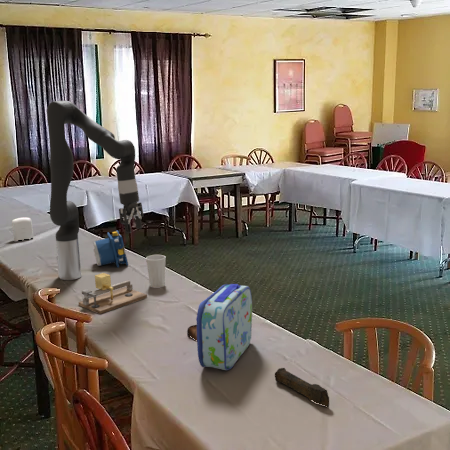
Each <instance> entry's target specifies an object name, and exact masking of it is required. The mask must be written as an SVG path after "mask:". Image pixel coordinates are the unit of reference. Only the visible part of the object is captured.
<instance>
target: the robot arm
mask: <svg viewBox="0 0 450 450" xmlns="http://www.w3.org/2000/svg"><path fill="white" fill-rule="evenodd" d="M46 115H47V116H46V117H47V127H48V134H49V151H50V154H49V155H50V156H49V157H50V158H49V159H50V163H49V164H50V202H49V217H50V218H49V219H50V220H51V222H52V223H53V224H54V225H56V226H58V227H59V228H58V230H57V232H55V242H56V243H55V245H56V253H57V255H56V261H57V272H58V277H59V279H60V280H63V281H72V280H73V281H74V280H77V279H79V278H81V277H82V269H81V267H82V266H81V257H80V255H81V254H80V244H79V232H80V216H79V209H78V206H77V204H75V202H74V201H72V200H71V201H70V200H67V198H68V189H69V187H70V184H71V183H72V182H71V181H72V179H73V175H74V166H75V165H74V153H73V152H72V150H71V148H70V145H69V144H68V141H67V140H66V139H67V138H66V135H65V133H66V132H65V124H71V125H74V126H75V127H78V128H79V129H81V130H82V132H83V133H84V134H85V136H86V137H87V138H88V139H89V140H90V141H91V142H93V143H94V144H96V145H98V146H99V147H100V148H102V149H103V150H104V151H105V152H106V154H107V155H109V156H110V157H111V158H113V159H115V160H120V164H119V165H117V167H116V177H117V179H116V180H117V190H118V196H119V202H120V204H121V205H122V206H123V207H121V208H118V213H119V221H120V222H119V223H120V225H121V224H122V225H124V230H125V234H132V226H131V224H130V223H131V220H132V219H133V218H134V219H135V227H136V229H137V230H141V229H142V228H143V225H142V217H144V211H143V205H142V202H140V197H139V189H138V183H137V180H136V172H135V163H136V148H135V145H134V143H133V142H132V141H131V140H129V139H123V140H117V139H116V137H115V134H114V133H113V132H112V131H111V130H108V129H107V128H105V127H104V126H102V125H100V124H99V123H97V122H96V121H94V120H93V119H92V118H90V117H89V116H88V115H87V114H86V113H85V112H83V110H81V109H80V108H79V107H78V106H77V105H76V104H74V103H73V102H71V101H69V100H54V101H51V102H50V103H49V104H48V106H47V110H46Z"/></svg>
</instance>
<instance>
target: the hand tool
mask: <svg viewBox="0 0 450 450" xmlns="http://www.w3.org/2000/svg"><path fill="white" fill-rule="evenodd" d="M274 378H275V382H277V383H278V381H279V384H280V383H281V384H283V385H285V386H287V387H288V388H290V389H292V390H293V391H296V393H300V394H301V395H303V396H305V397H306V398H308V399H309V401H310V400H313V401H314V402H316V403H319V404H322V405H325V406H327V407H329V408H330V396H329V393H328V390H327V389H326V388H324V387H323V386H321V385H320V384H317V383H312V384H311V383H309V382H307V381H306V380H304V379H302V378H300V377H298V376H297V375H295V374H293V373H291V372H289V371H288V370H287V369H286V368H285V367H281V368H278V369H277V370H276V371H275V372H274ZM327 407H326V408H327Z"/></svg>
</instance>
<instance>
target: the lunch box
mask: <svg viewBox="0 0 450 450" xmlns="http://www.w3.org/2000/svg"><path fill="white" fill-rule="evenodd" d="M195 319H196V325H197V342H196V344H197V357H198V363H199V364H200V365H199V366H200V367H202V368H214V369H219V370H222V371H230V370H231V369H232V368H233V367H234V366H235V365H236V363H237V361H238V360H239V359H240V357H241V356H242V355H243V354H244V352H245V351H246V350H247V349H248V347H249V346H250V343H251V340H252V325H253V324H252V323H253V300H252V291H251V288H250V287H249V286H248V285H239V283H230V284H228V283H225V284H223V285H221V286H220V287H219V288H218V289H216V291H214V292H213V293H212V294H210V295H209V296H208V297H206V298H205V299H204V300H202V301H201V302H200V303H199V304H198V307H197V313H196V318H195Z"/></svg>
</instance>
